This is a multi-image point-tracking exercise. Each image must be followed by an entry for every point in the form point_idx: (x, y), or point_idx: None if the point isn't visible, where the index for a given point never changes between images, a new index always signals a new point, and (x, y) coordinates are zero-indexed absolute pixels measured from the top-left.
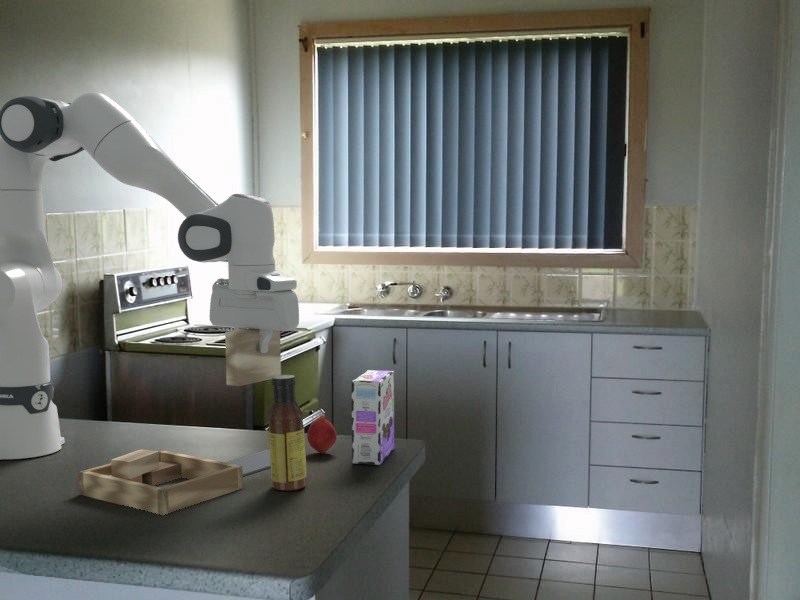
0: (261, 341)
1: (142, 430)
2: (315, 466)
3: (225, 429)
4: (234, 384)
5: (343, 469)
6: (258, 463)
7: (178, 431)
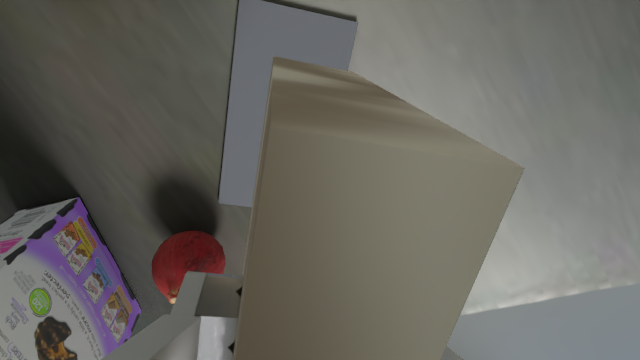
0: (165, 331)
1: (631, 243)
2: (142, 150)
3: (478, 308)
4: (299, 61)
5: (67, 153)
6: (264, 105)
7: (559, 263)
